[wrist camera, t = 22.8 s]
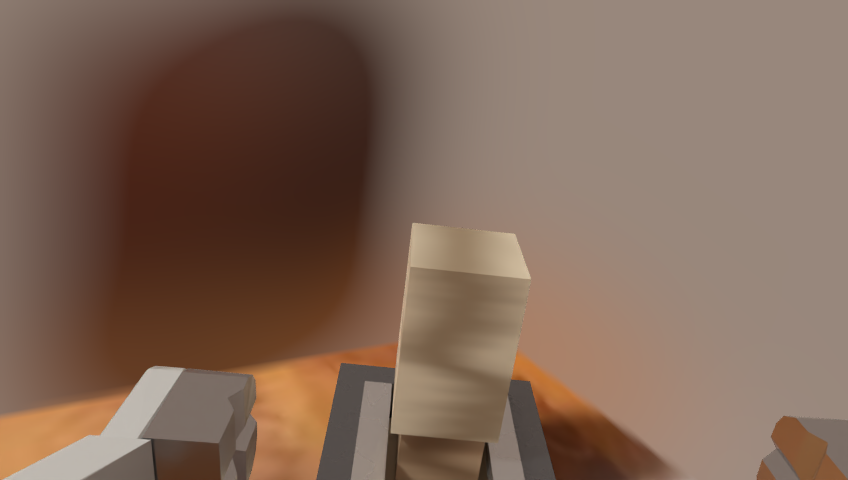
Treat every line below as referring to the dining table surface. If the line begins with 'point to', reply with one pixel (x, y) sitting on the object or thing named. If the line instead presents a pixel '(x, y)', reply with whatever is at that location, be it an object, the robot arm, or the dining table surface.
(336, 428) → the grey slotted frame
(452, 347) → the birch keyhole peg
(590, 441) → the dining table surface
